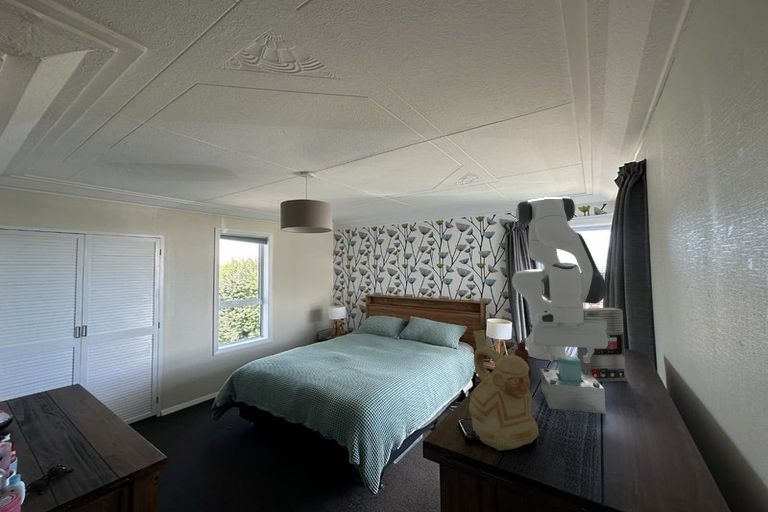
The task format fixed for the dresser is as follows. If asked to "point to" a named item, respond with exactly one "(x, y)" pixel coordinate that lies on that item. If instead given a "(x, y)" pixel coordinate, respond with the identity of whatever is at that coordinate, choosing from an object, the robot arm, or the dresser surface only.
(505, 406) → the ceramic vessel
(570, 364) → the cover plug
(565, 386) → the housing
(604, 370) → the cassette tape recorder
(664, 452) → the dresser surface
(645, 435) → the dresser surface
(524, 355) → the wooden figurine
